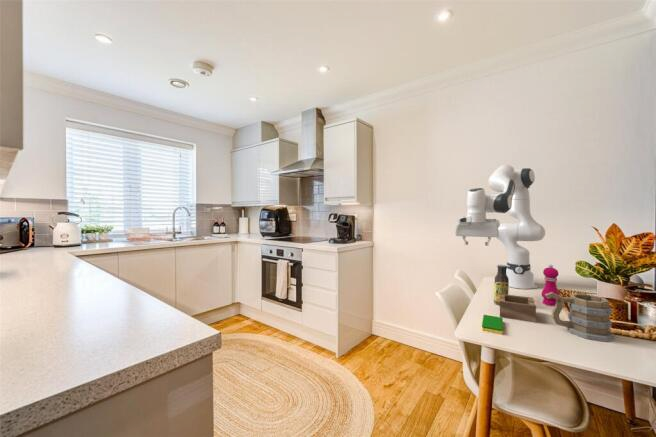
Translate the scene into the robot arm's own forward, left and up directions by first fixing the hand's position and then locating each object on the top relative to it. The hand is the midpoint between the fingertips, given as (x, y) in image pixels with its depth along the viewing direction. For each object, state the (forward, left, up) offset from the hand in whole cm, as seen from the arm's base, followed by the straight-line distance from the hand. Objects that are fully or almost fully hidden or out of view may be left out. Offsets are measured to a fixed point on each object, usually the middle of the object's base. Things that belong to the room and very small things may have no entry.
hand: (476, 245), depth 144 cm
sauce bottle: (0, +11, -30) cm, 32 cm away
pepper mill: (-11, +32, -30) cm, 45 cm away
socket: (+13, +17, -30) cm, 36 cm away
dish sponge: (+32, +8, -30) cm, 45 cm away
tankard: (+22, +36, -30) cm, 52 cm away
